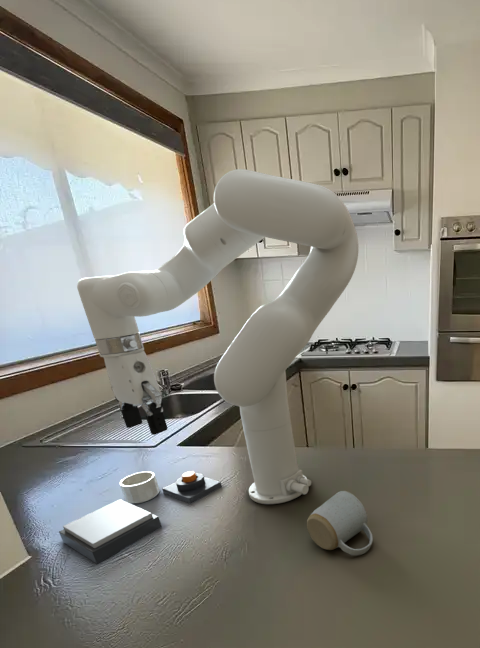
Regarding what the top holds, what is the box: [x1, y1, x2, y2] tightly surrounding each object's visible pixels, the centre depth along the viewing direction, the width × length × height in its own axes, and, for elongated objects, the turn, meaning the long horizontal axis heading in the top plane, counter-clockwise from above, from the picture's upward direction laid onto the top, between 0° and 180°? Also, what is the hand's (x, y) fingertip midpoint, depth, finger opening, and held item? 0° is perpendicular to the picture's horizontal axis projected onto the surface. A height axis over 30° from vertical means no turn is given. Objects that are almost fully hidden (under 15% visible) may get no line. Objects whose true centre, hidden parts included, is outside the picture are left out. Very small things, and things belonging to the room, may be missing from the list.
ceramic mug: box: [306, 490, 374, 556], centre depth 71 cm, size 11×8×8 cm
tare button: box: [181, 470, 197, 483], centre depth 93 cm, size 3×3×2 cm
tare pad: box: [162, 472, 222, 505], centre depth 94 cm, size 10×8×3 cm
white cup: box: [119, 470, 161, 504], centre depth 92 cm, size 7×7×5 cm
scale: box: [58, 498, 162, 565], centre depth 79 cm, size 13×12×4 cm
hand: (147, 428), depth 87 cm, fingers open, 9 cm apart
